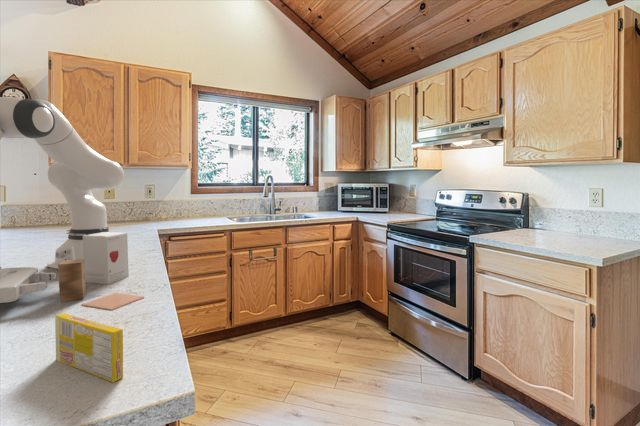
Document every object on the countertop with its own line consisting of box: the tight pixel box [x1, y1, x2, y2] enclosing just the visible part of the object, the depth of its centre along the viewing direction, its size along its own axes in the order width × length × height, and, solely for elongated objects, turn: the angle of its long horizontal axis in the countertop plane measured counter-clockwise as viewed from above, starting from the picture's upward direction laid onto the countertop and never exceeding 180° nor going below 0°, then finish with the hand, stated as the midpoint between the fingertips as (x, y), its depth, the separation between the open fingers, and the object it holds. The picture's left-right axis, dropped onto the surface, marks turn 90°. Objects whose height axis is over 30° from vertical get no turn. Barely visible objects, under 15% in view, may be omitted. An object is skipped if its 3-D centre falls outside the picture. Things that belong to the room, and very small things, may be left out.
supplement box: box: [83, 231, 129, 285], centre depth 113 cm, size 9×9×15 cm
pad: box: [81, 292, 145, 311], centre depth 93 cm, size 10×10×1 cm
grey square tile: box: [44, 292, 102, 307], centre depth 95 cm, size 9×9×1 cm
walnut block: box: [57, 259, 87, 303], centre depth 94 cm, size 5×5×10 cm
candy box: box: [54, 312, 124, 384], centre depth 60 cm, size 16×2×8 cm, turn 64°
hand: (51, 280), depth 93 cm, fingers open, 8 cm apart
